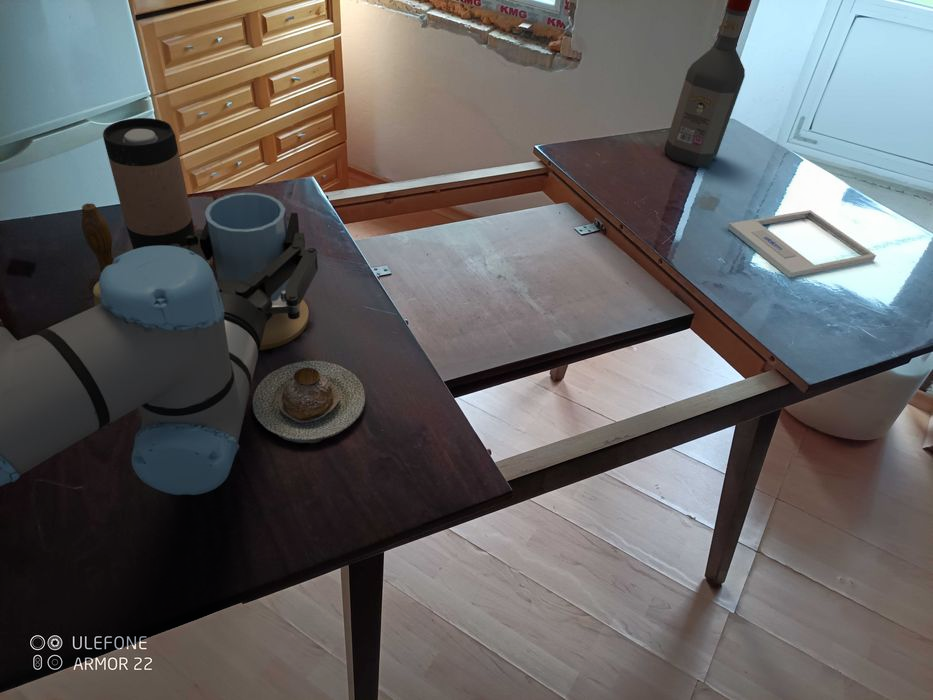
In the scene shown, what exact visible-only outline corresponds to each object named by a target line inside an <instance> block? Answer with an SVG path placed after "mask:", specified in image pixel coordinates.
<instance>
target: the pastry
mask: <svg viewBox="0 0 933 700" xmlns="http://www.w3.org/2000/svg"><path fill="white" fill-rule="evenodd" d="M365 392H366V391H365V388H364V385H363V383H362V381H361V380H360V379H359V378H358V377H357V376H356V375H355V374H354V373H353V372H351V371H350V370H349V369H347V368H345V367H342V366H341V365H339V364H335V363H332V362H328V361H323V360H303V361H298V362H294V363H290V364H286V365H283V366H282V367H280V368H278V369H276V370H273V371H272V372H271V373H268V374H267V375H266V376H265V377H264V378H263V379H262V380H261V381H260V382H259V384H258V385H257V387H256V389H255V391H254V394H253V396H252V410H253V414H254V416H255V418H256V419H257V421H258V422H259V423H260V424H261V426H263V427H264V428H265V429H266V430H268V431H269V432H271V433H272V434H273V435H274V434H275V435H276V436H278V437H279V438H281V439H282V440H285V441H288V442H293V443H298V444H301V443H302V444H305V443H308V444H315V443H319V442H321V441H322V440H325V439H328V438H332V437H335V436H337V435H339V434H340V433H341V432H343V431H344V430H346V429H347V428H349V427H350V426H352V425H353V424H354V423H355V422H356V421H357V419H359V417H360V416H361V414H362V413H363V411H364V407H365V403H366V393H365Z"/></svg>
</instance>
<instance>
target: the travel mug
mask: <svg viewBox="0 0 933 700" xmlns="http://www.w3.org/2000/svg"><path fill="white" fill-rule="evenodd" d="M172 127H173V126H172V125H171V124H170V123H169V122H167V121H165V120H163V119H162V120H161V119H158V118H151V117H135V118H128V119H127V118H126V119H122V120H119V121H116V122H113V123H111V124H109V125H108V126H106V128H104V130H103V133H102V138H103V142H104V146H105V150H106V155H107V158H108V162H109V166H110V169H111V173H112V177H113V181H114V185H115V189H116V191H117V196H118V200H119V204H120V208H121V212H122V216H123V220H124V223H125V228H126V230H127V233H128V237H129V240H130V243H131V246H132V250H134V249H137V248H141V247H147V246H162V245H163V246H169V245H171V244H179V245H180V247H181V246H186V245H187V241H186V237H187V236H189V235H194V232H195V227H194V219H193V214H192V210H191V205H190V199H189V196H188V190H187V186H186V181H185V177H184V171H183V166H182V162H181V157H180V152H179V147H178V142H177V138H176V133H175V131H174V130H173V128H172Z"/></svg>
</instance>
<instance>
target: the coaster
mask: <svg viewBox="0 0 933 700" xmlns="http://www.w3.org/2000/svg"><path fill="white" fill-rule="evenodd" d="M299 311H300V317H299V318H297V319H290V318H288V313H282V314H273V316H272V317H271V318H270V319H269V320H268V321H267V322H266V324H265V329H264V333H263V338H262V342H261V346H260V350H259V351H266V350H270V349H274V348H279V347H281V346H284V345H286V344H288V343H290V342H292V341H294V340H295V339H297V338H298V337H299V336H300V335H301V334H302V333H304V331H305V330H306V328H307V326H308V324H309V321H310V311H309V307H308V305H307V303H306V301H305V300H304V298H303V299H302V301H301V303H300V305H299Z"/></svg>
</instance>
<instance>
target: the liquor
mask: <svg viewBox="0 0 933 700" xmlns="http://www.w3.org/2000/svg"><path fill="white" fill-rule="evenodd" d="M752 1H753V0H728V2H727V5H726V8H727V9H726V12H725V15H724V18H723V21H722V24H721V27H720V30H719V33H718V36H717V39H716V40H715V42H714V44H713V46H712V48H710V49H709V50H708V51H706V52H705V53H704V54H703V55H701V56H700V57H699V58H697V59H696V60H695V61H693V63H692V64H691V65H690V67H689V68H688V69H687V71H686V75H685V79H684V80H683V81H684V82H683V85H682V88H681V90H680V91H681V92H680V95H679V98H678V102H677V105H676V108H675V112H674V115H673V118H672V121H671V124H670V129H669V132H668V135H667V138H666V142H665V145H664V149H663V150H664V154H665V155H666V156H667V157H668V158H669V159H670V160H672V161H675V162H678V163H682V164H684V165H686V166H687V165H688V166H690V167H693V168H704V167H705V168H706V167H708V166H709V165H710V163H711V162H712V161H713V160H714V159H715V158H716V156H717V155H718V153H719V150H720V147H721V145H722V142H723V138H724V136H725V133H726V131H727V130H726V129H727V128H728V124H729V123H730V119H731V116H732V114H733V111H734V108H735V105H736V102H737V99H738V97H739V94H740V91H741V88H742V85H743V82H744V79H745V77H746V76H745V75H746V72H745V71H746V69H745V67H744V64H743V63H742V60H741V57H740V56H739V53H738V51H737V47H738V40H739V35H740V33H741V30H742V27H743V23H744V21H745V18H746V15H747V12H748V11H749V10H750V7H751V4H752Z"/></svg>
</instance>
